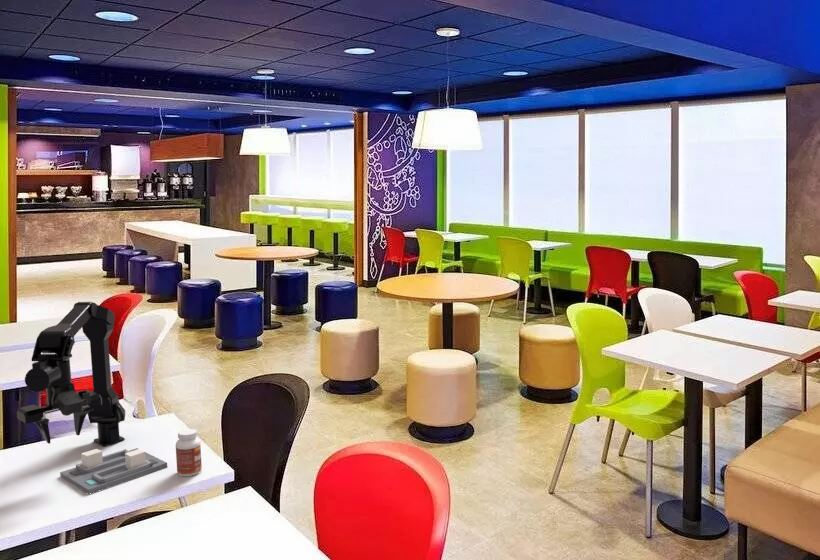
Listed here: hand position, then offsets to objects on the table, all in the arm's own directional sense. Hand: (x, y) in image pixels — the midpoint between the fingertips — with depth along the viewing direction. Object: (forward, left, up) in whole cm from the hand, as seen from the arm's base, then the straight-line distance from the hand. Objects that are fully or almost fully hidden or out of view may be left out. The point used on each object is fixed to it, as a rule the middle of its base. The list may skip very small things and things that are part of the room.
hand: (63, 439), depth 175 cm
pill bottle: (+20, +23, -11) cm, 32 cm away
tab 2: (+9, +14, -10) cm, 19 cm away
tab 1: (0, +7, -10) cm, 12 cm away
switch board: (+4, +10, -11) cm, 16 cm away
